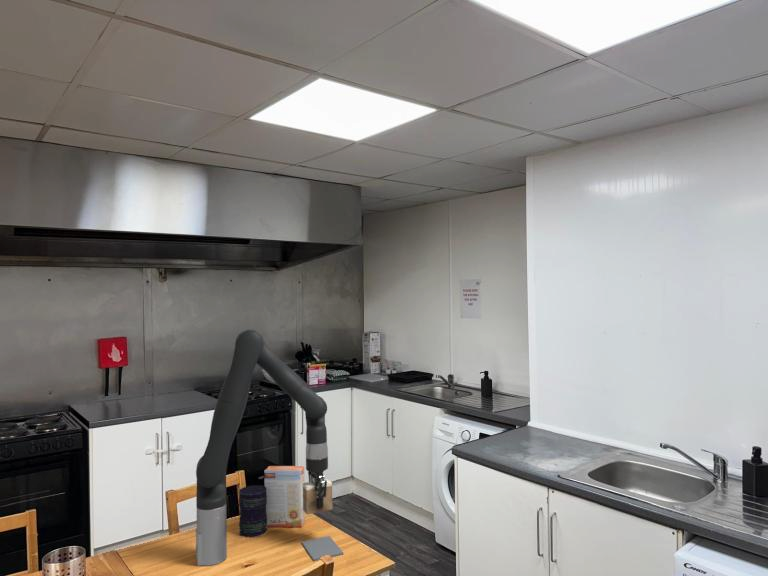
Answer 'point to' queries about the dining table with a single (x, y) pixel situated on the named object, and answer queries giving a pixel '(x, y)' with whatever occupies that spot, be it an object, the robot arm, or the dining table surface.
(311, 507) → the brown and white block
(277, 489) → the cracker box
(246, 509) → the storage jar
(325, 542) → the mat
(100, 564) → the dining table surface
